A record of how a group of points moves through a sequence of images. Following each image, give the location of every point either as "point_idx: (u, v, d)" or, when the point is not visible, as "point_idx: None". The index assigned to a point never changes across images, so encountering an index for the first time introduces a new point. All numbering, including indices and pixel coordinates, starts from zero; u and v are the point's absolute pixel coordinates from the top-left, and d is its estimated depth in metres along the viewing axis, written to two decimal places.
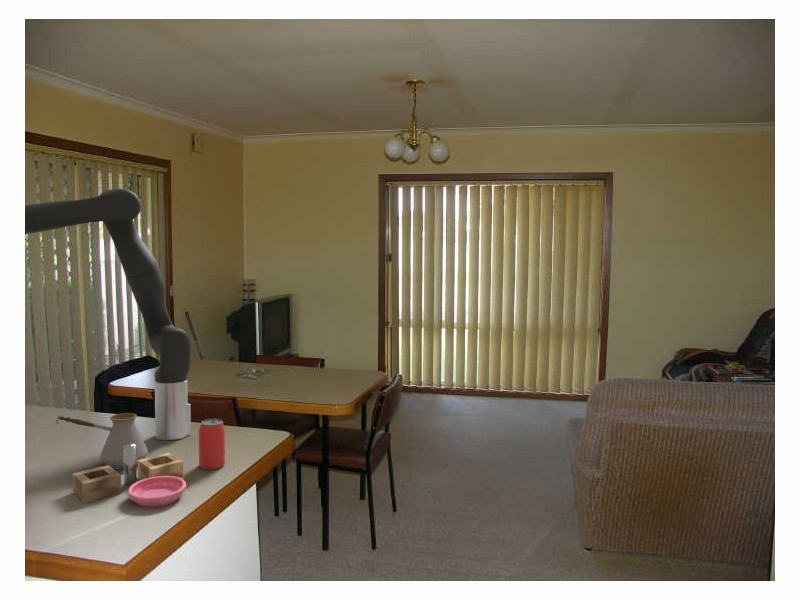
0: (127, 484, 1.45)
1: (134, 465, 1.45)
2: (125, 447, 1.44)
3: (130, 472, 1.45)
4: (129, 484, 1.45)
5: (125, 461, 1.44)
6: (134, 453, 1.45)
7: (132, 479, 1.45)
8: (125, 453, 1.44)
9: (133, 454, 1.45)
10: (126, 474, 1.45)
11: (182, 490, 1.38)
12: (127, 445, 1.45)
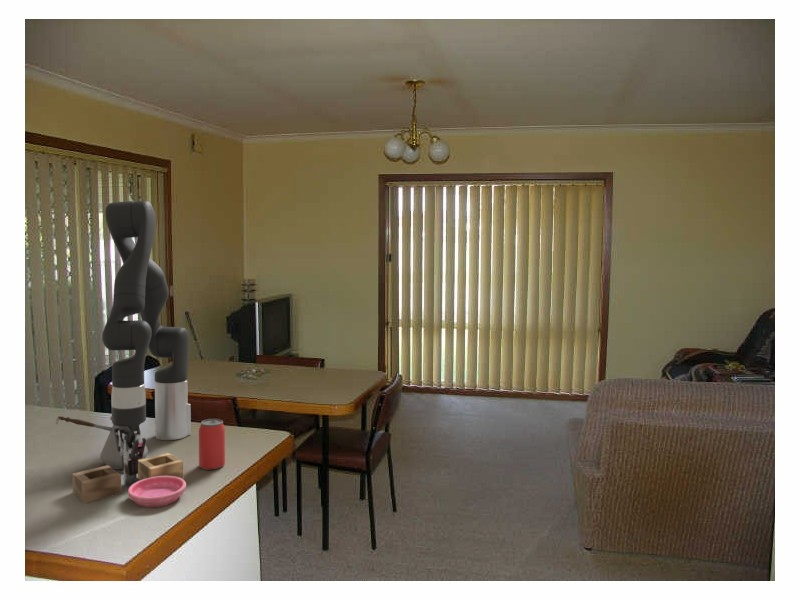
0: (127, 484, 1.45)
1: None
2: None
3: None
4: (129, 484, 1.45)
5: (125, 461, 1.44)
6: None
7: (132, 479, 1.45)
8: (125, 453, 1.44)
9: None
10: (126, 474, 1.45)
11: (182, 490, 1.38)
12: None
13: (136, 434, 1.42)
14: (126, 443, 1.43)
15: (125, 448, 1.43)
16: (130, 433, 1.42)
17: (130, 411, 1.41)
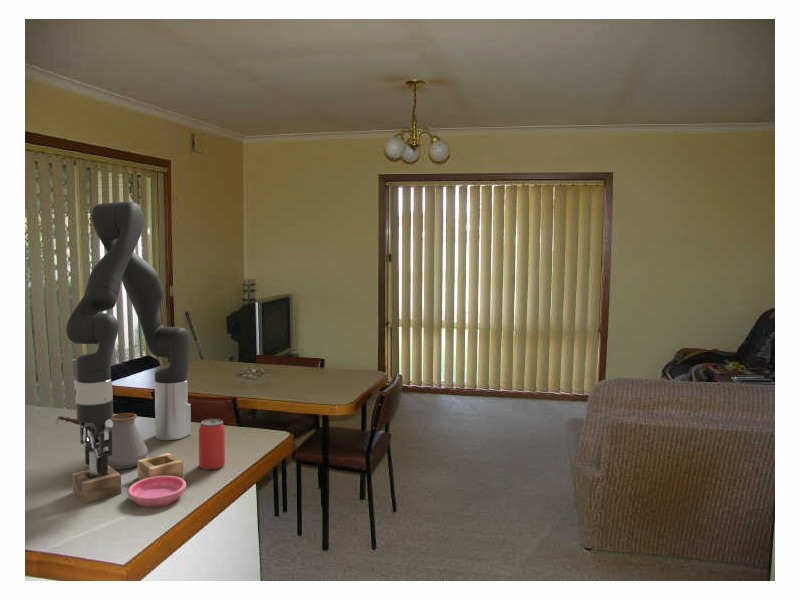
0: None
1: None
2: (91, 454, 1.39)
3: None
4: None
5: (91, 468, 1.39)
6: None
7: None
8: (91, 460, 1.39)
9: None
10: None
11: (182, 490, 1.38)
12: (93, 452, 1.40)
13: (102, 431, 1.37)
14: None
15: (92, 445, 1.37)
16: (95, 430, 1.37)
17: (95, 407, 1.36)
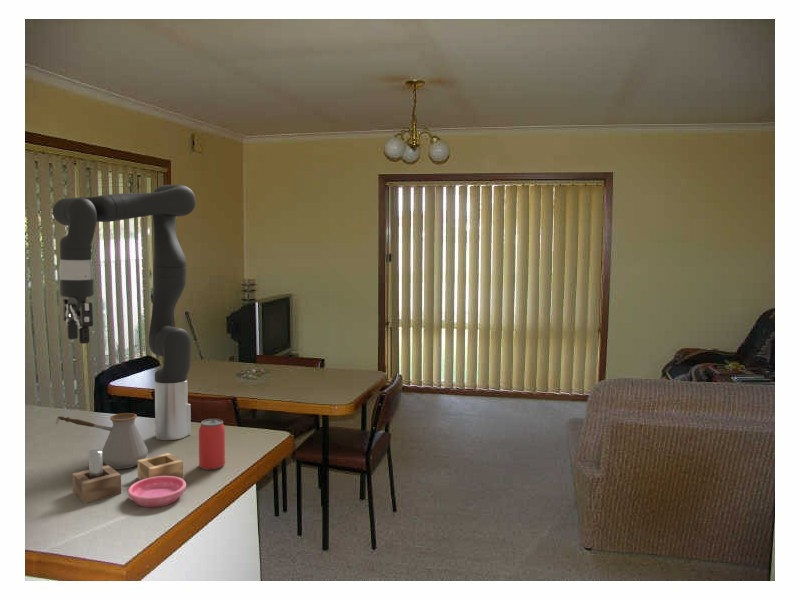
0: None
1: (100, 472, 1.40)
2: (91, 454, 1.39)
3: None
4: None
5: (91, 468, 1.39)
6: (100, 460, 1.40)
7: None
8: (91, 460, 1.39)
9: (99, 461, 1.40)
10: None
11: (182, 490, 1.38)
12: (92, 452, 1.40)
13: None
14: None
15: (74, 317, 1.50)
16: (77, 304, 1.50)
17: (77, 282, 1.49)
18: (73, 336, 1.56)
